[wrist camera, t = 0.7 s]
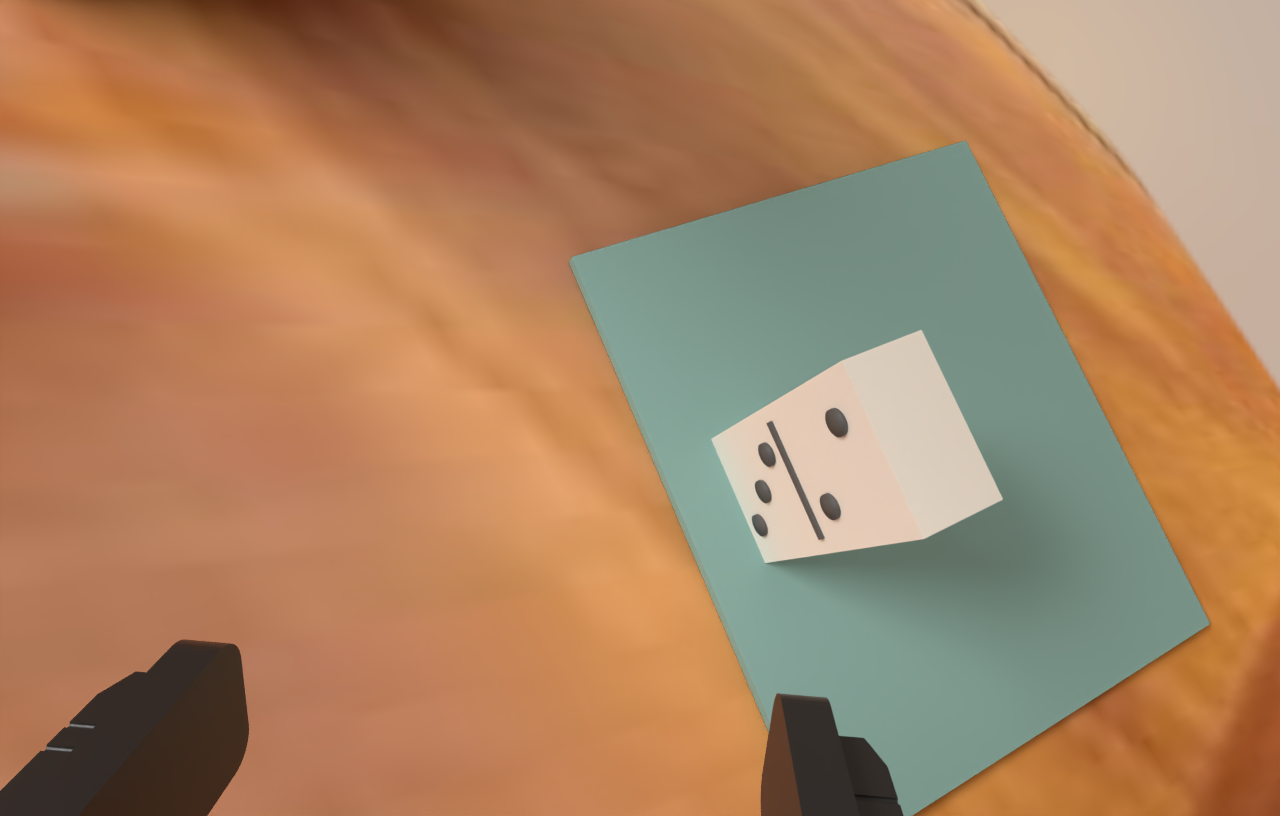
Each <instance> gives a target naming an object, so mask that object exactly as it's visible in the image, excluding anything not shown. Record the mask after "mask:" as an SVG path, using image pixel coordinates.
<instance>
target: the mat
mask: <svg viewBox="0 0 1280 816" xmlns="http://www.w3.org/2000/svg"><path fill="white" fill-rule="evenodd" d="M569 264H570V266H571V268H572V271H573V273H574V276H575V278H576V280H577V283H578V285H579V287H580V290H581V292H582V294H583V297H584V299H585V301H586V304H587V306H588V308H589V311H590V313H591V316H592V318H593V320H594V323H595V325H596V327H597V330H598V332H599V334H600V337H601V339H602V341H603V344H604V346H605V349H606V351H607V353H608V356H609V358H610V360H611V363H612V365H613V367H614V370H615V372H616V374H617V377H618V379H619V381H620V384H621V386H622V389H623V391H624V393H625V396H626V398H627V400H628V403H629V405H630V407H631V410H632V412H633V414H634V417H635V419H636V421H637V424H638V426H639V429H640V431H641V433H642V436H643V438H644V440H645V443H646V445H647V447H648V450H649V452H650V454H651V457H652V459H653V461H654V464H655V466H656V469H657V471H658V473H659V476H660V478H661V480H662V483H663V485H664V487H665V490H666V492H667V494H668V497H669V499H670V501H671V504H672V506H673V509H674V511H675V513H676V516H677V518H678V520H679V523H680V525H681V527H682V530H683V532H684V534H685V537H686V539H687V541H688V544H689V546H690V549H691V551H692V553H693V556H694V558H695V560H696V563H697V565H698V567H699V570H700V572H701V574H702V577H703V579H704V581H705V584H706V586H707V589H708V591H709V593H710V596H711V598H712V600H713V603H714V605H715V607H716V610H717V612H718V614H719V617H720V619H721V621H722V624H723V626H724V629H725V631H726V633H727V636H728V638H729V640H730V643H731V645H732V647H733V650H734V652H735V654H736V657H737V659H738V661H739V664H740V666H741V669H742V671H743V673H744V676H745V678H746V680H747V683H748V685H749V687H750V690H751V692H752V694H753V697H754V699H755V701H756V704H757V706H758V709H759V711H760V713H761V716H762V718H763V720H764V723H765V725H766V727H767V730H768V732H769V729H770V722H771V716H772V709H773V704H774V699H775V696H776V694H777V693H781V694H792V695H804V696H815V697H826V698H828V700H829V702H830V704H831V708H832V712H833V716H834V719H835V723H836V727H837V731H838V735H839V736H848V737H860V738H865V739H866V741H867V742H868V743H869V744H870V746H871V747H872V748H873V749H874V750H875V752H876V753H877V754H878V755H879V757H880V758H881V759H882V760H883V761H884V763H885V764H886V765H887V766H888V769H889V772H890V775H891V778H892V781H893V785H894V788H895V791H896V794H897V797H898V804H900V806H901V809H902V812H903V815H904V816H913V815H914V814H916V813H917V812H919V811H920V810H922V809H923V808H925V807H926V806H928V805H930V804H931V803H933V802H934V801H936V800H937V799H939V798H940V797H942V796H944V795H945V794H947V793H948V792H950V791H951V790H953V789H954V788H956V787H958V786H959V785H961V784H962V783H964V782H965V781H967V780H968V779H970V778H972V777H973V776H975V775H976V774H978V773H979V772H981V771H982V770H984V769H986V768H987V767H989V766H990V765H992V764H993V763H995V762H996V761H998V760H1000V759H1001V758H1003V757H1004V756H1006V755H1007V754H1009V753H1010V752H1012V751H1014V750H1015V749H1017V748H1018V747H1020V746H1021V745H1023V744H1024V743H1026V742H1028V741H1029V740H1031V739H1032V738H1034V737H1035V736H1037V735H1038V734H1040V733H1042V732H1043V731H1045V730H1046V729H1048V728H1049V727H1051V726H1052V725H1054V724H1056V723H1057V722H1059V721H1060V720H1062V719H1063V718H1065V717H1066V716H1068V715H1070V714H1071V713H1073V712H1074V711H1076V710H1077V709H1079V708H1080V707H1082V706H1084V705H1085V704H1087V703H1088V702H1090V701H1091V700H1093V699H1094V698H1096V697H1098V696H1099V695H1101V694H1102V693H1104V692H1105V691H1107V690H1108V689H1110V688H1112V687H1113V686H1115V685H1116V684H1118V683H1119V682H1121V681H1122V680H1124V679H1126V678H1127V677H1129V676H1130V675H1132V674H1133V673H1135V672H1136V671H1138V670H1140V669H1141V668H1143V667H1144V666H1146V665H1147V664H1149V663H1150V662H1152V661H1153V660H1155V659H1157V658H1158V657H1160V656H1161V655H1163V654H1164V653H1166V652H1167V651H1169V650H1171V649H1172V648H1174V647H1175V646H1177V645H1178V644H1180V643H1181V642H1183V641H1185V640H1186V639H1188V638H1189V637H1191V636H1192V635H1194V634H1195V633H1197V632H1199V631H1200V630H1202V629H1203V628H1205V627H1206V626H1208V625H1209V624H1210V622H1209V620H1208V618H1207V616H1206V614H1205V612H1204V610H1203V608H1202V606H1201V604H1200V602H1199V600H1198V598H1197V597H1196V595H1195V593H1194V591H1193V589H1192V587H1191V585H1190V583H1189V581H1188V579H1187V577H1186V575H1185V573H1184V571H1183V569H1182V567H1181V565H1180V563H1179V561H1178V559H1177V557H1176V555H1175V553H1174V551H1173V549H1172V547H1171V545H1170V543H1169V541H1168V539H1167V537H1166V535H1165V533H1164V531H1163V529H1162V527H1161V525H1160V523H1159V521H1158V519H1157V517H1156V515H1155V513H1154V511H1153V509H1152V507H1151V506H1150V504H1149V502H1148V500H1147V498H1146V496H1145V494H1144V492H1143V490H1142V488H1141V486H1140V484H1139V482H1138V480H1137V478H1136V476H1135V474H1134V472H1133V470H1132V468H1131V466H1130V464H1129V462H1128V460H1127V458H1126V456H1125V454H1124V452H1123V450H1122V448H1121V446H1120V444H1119V442H1118V440H1117V438H1116V436H1115V434H1114V432H1113V430H1112V428H1111V426H1110V424H1109V422H1108V420H1107V418H1106V416H1105V415H1104V413H1103V411H1102V409H1101V407H1100V405H1099V403H1098V401H1097V399H1096V397H1095V395H1094V393H1093V391H1092V389H1091V387H1090V385H1089V383H1088V381H1087V379H1086V377H1085V375H1084V373H1083V371H1082V369H1081V367H1080V365H1079V363H1078V361H1077V359H1076V357H1075V355H1074V353H1073V351H1072V349H1071V347H1070V345H1069V343H1068V341H1067V339H1066V337H1065V335H1064V333H1063V331H1062V329H1061V327H1060V325H1059V324H1058V322H1057V320H1056V318H1055V316H1054V314H1053V312H1052V310H1051V308H1050V306H1049V304H1048V302H1047V300H1046V298H1045V296H1044V294H1043V292H1042V290H1041V288H1040V286H1039V284H1038V282H1037V280H1036V278H1035V276H1034V274H1033V272H1032V270H1031V268H1030V266H1029V264H1028V262H1027V260H1026V258H1025V256H1024V254H1023V252H1022V250H1021V248H1020V246H1019V244H1018V242H1017V240H1016V238H1015V236H1014V235H1013V233H1012V231H1011V229H1010V227H1009V225H1008V223H1007V221H1006V219H1005V217H1004V215H1003V213H1002V211H1001V209H1000V207H999V205H998V203H997V201H996V199H995V197H994V195H993V193H992V191H991V189H990V187H989V185H988V183H987V181H986V179H985V177H984V175H983V173H982V171H981V169H980V167H979V165H978V163H977V161H976V159H975V157H974V155H973V153H972V151H971V149H970V147H969V145H968V144H967V142H966V141H962V142H959V143H956V144H952V145H949V146H945V147H942V148H939V149H935V150H932V151H928V152H925V153H922V154H918V155H915V156H912V157H908V158H905V159H901V160H898V161H895V162H891V163H888V164H885V165H881V166H878V167H874V168H871V169H868V170H864V171H861V172H858V173H854V174H851V175H847V176H844V177H841V178H837V179H834V180H830V181H827V182H824V183H820V184H817V185H814V186H810V187H807V188H803V189H800V190H797V191H793V192H790V193H787V194H783V195H780V196H776V197H773V198H770V199H766V200H763V201H760V202H756V203H753V204H749V205H746V206H743V207H739V208H736V209H732V210H729V211H726V212H722V213H719V214H716V215H712V216H709V217H705V218H702V219H699V220H695V221H692V222H689V223H685V224H682V225H678V226H675V227H672V228H668V229H665V230H662V231H658V232H655V233H651V234H648V235H645V236H641V237H638V238H634V239H631V240H628V241H624V242H621V243H618V244H614V245H611V246H607V247H604V248H601V249H597V250H594V251H591V252H587V253H584V254H580V255H577V256H574V257H571V260H570V262H569ZM919 330H922V332H923V334H924V336H925V338H926V340H927V342H928V344H929V346H930V348H931V351H932V353H933V355H934V357H935V359H936V361H937V363H938V365H939V367H940V369H941V371H942V373H943V376H944V378H945V380H946V382H947V384H948V386H949V388H950V390H951V392H952V394H953V396H954V398H955V400H956V403H957V405H958V407H959V409H960V411H961V413H962V415H963V417H964V419H965V421H966V423H967V425H968V427H969V430H970V432H971V434H972V436H973V438H974V440H975V442H976V444H977V446H978V448H979V450H980V452H981V454H982V457H983V459H984V461H985V463H986V465H987V467H988V469H989V471H990V473H991V475H992V477H993V479H994V482H995V484H996V486H997V488H998V490H999V492H1000V494H1001V496H1002V498H1003V500H1001V501H999V502H997V503H995V504H993V505H991V506H989V507H987V508H985V509H983V510H981V511H979V512H977V513H975V514H973V515H971V516H969V517H967V518H965V519H963V520H961V521H959V522H957V523H955V524H953V525H951V526H949V527H947V528H945V529H943V530H941V531H939V532H937V533H935V534H933V535H931V536H929V537H927V538H925V539H921V540H914V541H908V542H901V543H895V544H888V545H881V546H875V547H868V548H862V549H855V550H848V551H842V552H835V553H829V554H822V555H815V556H809V557H802V558H796V559H789V560H783V561H776V562H769V563H765V562H764V559H763V557H762V555H761V552H760V550H759V548H758V546H757V543H756V541H755V539H754V536H753V534H752V532H751V530H750V527H749V525H748V523H747V520H746V518H745V516H744V513H743V511H742V509H741V507H740V504H739V502H738V500H737V497H736V495H735V493H734V491H733V488H732V486H731V484H730V481H729V479H728V477H727V475H726V472H725V470H724V468H723V465H722V463H721V461H720V458H719V456H718V454H717V452H716V449H715V447H714V445H713V442H712V440H711V439H712V438H713V437H715V436H717V435H718V434H720V433H722V432H723V431H725V430H727V429H728V428H730V427H732V426H733V425H735V424H737V423H738V422H740V421H742V420H743V419H745V418H747V417H748V416H750V415H752V414H753V413H755V412H757V411H758V410H760V409H762V408H763V407H765V406H767V405H768V404H770V403H772V402H773V401H775V400H777V399H778V398H780V397H782V396H783V395H785V394H787V393H788V392H790V391H792V390H793V389H795V388H797V387H798V386H800V385H802V384H803V383H805V382H807V381H808V380H810V379H812V378H813V377H815V376H817V375H818V374H820V373H822V372H823V371H825V370H827V369H828V368H830V367H832V366H833V365H835V364H837V363H838V362H840V361H842V360H845V359H847V358H850V357H852V356H855V355H858V354H860V353H863V352H865V351H868V350H870V349H873V348H876V347H878V346H881V345H883V344H886V343H888V342H891V341H894V340H896V339H899V338H901V337H904V336H906V335H909V334H912V333H914V332H917V331H919Z"/></svg>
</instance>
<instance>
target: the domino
mask: <svg viewBox="0 0 1280 816" xmlns="http://www.w3.org/2000/svg"><path fill="white" fill-rule="evenodd" d="M711 440H712V442H713V445H714V447H715V449H716V452H717V454H718V456H719V458H720V461H721V463H722V465H723V468H724V470H725V472H726V475H727V477H728V479H729V481H730V484H731V486H732V488H733V491H734V493H735V495H736V497H737V500H738V502H739V504H740V507H741V509H742V511H743V513H744V516H745V518H746V520H747V523H748V525H749V527H750V530H751V532H752V534H753V536H754V539H755V541H756V543H757V546H758V548H759V550H760V552H761V555H762V557H763V559H764V562H765V563H769V562H776V561H783V560H789V559H796V558H802V557H809V556H815V555H822V554H829V553H835V552H842V551H848V550H855V549H862V548H868V547H875V546H881V545H888V544H895V543H901V542H908V541H914V540H921V539H925V538H927V537H929V536H931V535H933V534H935V533H937V532H939V531H941V530H943V529H945V528H947V527H949V526H951V525H953V524H955V523H957V522H959V521H961V520H963V519H965V518H967V517H969V516H971V515H973V514H975V513H977V512H979V511H981V510H983V509H985V508H987V507H989V506H991V505H993V504H995V503H997V502H999V501H1001V500H1003V498H1002V496H1001V494H1000V492H999V490H998V488H997V486H996V484H995V482H994V479H993V477H992V475H991V473H990V471H989V469H988V467H987V465H986V463H985V461H984V459H983V457H982V454H981V452H980V450H979V448H978V446H977V444H976V442H975V440H974V438H973V436H972V434H971V432H970V430H969V427H968V425H967V423H966V421H965V419H964V417H963V415H962V413H961V411H960V409H959V407H958V405H957V403H956V400H955V398H954V396H953V394H952V392H951V390H950V388H949V386H948V384H947V382H946V380H945V378H944V376H943V373H942V371H941V369H940V367H939V365H938V363H937V361H936V359H935V357H934V355H933V353H932V351H931V348H930V346H929V344H928V342H927V340H926V338H925V336H924V334H923V332H922V330H919V331H917V332H914V333H912V334H909V335H906V336H904V337H901V338H899V339H896V340H894V341H891V342H888V343H886V344H883V345H881V346H878V347H876V348H873V349H870V350H868V351H865V352H863V353H860V354H858V355H855V356H852V357H850V358H847V359H845V360H842V361H840V362H838V363H837V364H835V365H833V366H832V367H830V368H828V369H827V370H825V371H823V372H822V373H820V374H818V375H817V376H815V377H813V378H812V379H810V380H808V381H807V382H805V383H803V384H802V385H800V386H798V387H797V388H795V389H793V390H792V391H790V392H788V393H787V394H785V395H783V396H782V397H780V398H778V399H777V400H775V401H773V402H772V403H770V404H768V405H767V406H765V407H763V408H762V409H760V410H758V411H757V412H755V413H753V414H752V415H750V416H748V417H747V418H745V419H743V420H742V421H740V422H738V423H737V424H735V425H733V426H732V427H730V428H728V429H727V430H725V431H723V432H722V433H720V434H718V435H717V436H715V437H713V438H712V439H711Z"/></svg>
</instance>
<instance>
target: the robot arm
mask: <svg viewBox="0 0 1280 816" xmlns="http://www.w3.org/2000/svg"><path fill="white" fill-rule="evenodd" d="M248 735H249V724H248V715H247V706H246V697H245V688H244V679H243V670H242V662H241V655H240V651H239V649H238V647H237V646H236V645H234V644H229V643H218V642H206V641H195V640H180V641H178V642H176V643H175V644H174V645H173V646H172V647H171V648H170V649H169V650H168V651H167V652H166V653H165V654H164V655H163V656H162V657H161V658H160V659H159V660H158V661H157V662H156V663H155V664H154V665H153V666H152V667H151V668H150V670H149V671H148V672H147V673H145V672H134V673H133V674H131V675H129V676H128V677H126V678H124V679H123V680H121V681H119V682H118V683H116V684H114V685H112V686H111V687H109V688H107V689H106V690H104V691H102V692H101V693H99V694H97V695H96V696H95V697H94V698H93V699H92V700H91V701H90V702H89V703H88V704H87V705H86V706H85V707H84V708H83V709H82V710H81V711H80V712H79V713H78V714H77V715H76V716H75V717H74V718H73V719H72V720H71V721H70V725H69V727H68V728H65V727H64V728H63V729H62V730H61V731H60V732H59V733H58V734H57V735H56V736H55V737H54V738H53V739H52V740H51V741H50V742H49V743H48V744H47V747H46V750H45V751H40V752H39V753H38V754H37V755H36V756H35V757H34V758H33V759H32V760H31V761H30V762H29V763H28V764H27V765H26V766H25V767H24V768H23V769H22V770H21V771H20V772H19V773H18V774H17V775H16V776H15V777H14V778H13V779H12V780H11V781H10V782H9V783H8V784H7V785H6V786H5V787H4V788H3V789H2V790H1V791H0V816H207V815H208V814H209V812H210V811H211V809H212V808H213V806H214V805H215V803H216V802H217V800H218V799H219V797H220V796H221V794H222V793H223V791H224V790H225V789H226V787H227V786H228V784H229V783H230V781H231V780H232V778H233V777H234V775H235V774H236V772H237V770H238V768H239V766H240V764H241V762H242V760H243V757H244V754H245V751H246V747H247V742H248ZM761 816H904V815H903V812H902V809H901V806H900V804H898V797H897V794H896V791H895V788H894V785H893V781H892V778H891V775H890V772H889V769H888V766H887V765H886V764H885V763H884V761H883V760H882V759H881V758H880V757H879V755H878V754H877V753H876V752H875V750H874V749H873V748H872V747H871V746H870V744H869V743H868V742H867V741H866V739H865V738H860V737H848V736H839V735H838V731H837V727H836V723H835V719H834V716H833V712H832V708H831V704H830V702H829V700H828V698H826V697H815V696H804V695H792V694H781V693H777V694H776V696H775V699H774V704H773V709H772V716H771V722H770V729H769V735H768V741H767V748H766V754H765V761H764V767H763V774H762V784H761Z"/></svg>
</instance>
